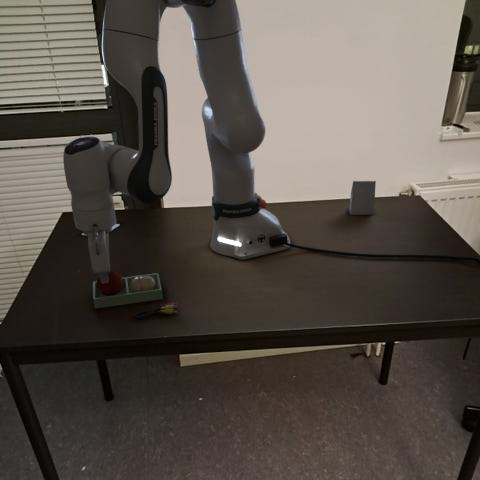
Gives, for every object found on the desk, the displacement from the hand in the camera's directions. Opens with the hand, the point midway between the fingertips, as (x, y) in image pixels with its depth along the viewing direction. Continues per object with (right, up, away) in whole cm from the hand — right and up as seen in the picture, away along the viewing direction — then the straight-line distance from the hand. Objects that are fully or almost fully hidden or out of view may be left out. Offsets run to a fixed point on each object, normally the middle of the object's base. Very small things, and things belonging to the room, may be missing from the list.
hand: (104, 271), depth 119 cm
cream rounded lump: (+8, -4, +5) cm, 11 cm away
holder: (+4, -5, +5) cm, 8 cm away
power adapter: (-11, +16, +36) cm, 41 cm away
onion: (+1, -6, +4) cm, 7 cm away
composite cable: (+13, -10, -2) cm, 16 cm away
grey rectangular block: (+69, +23, +42) cm, 84 cm away
